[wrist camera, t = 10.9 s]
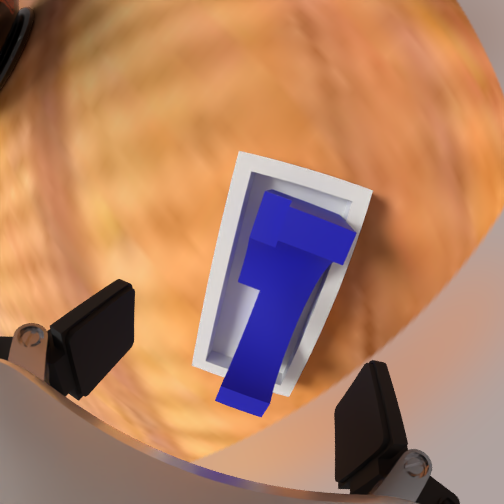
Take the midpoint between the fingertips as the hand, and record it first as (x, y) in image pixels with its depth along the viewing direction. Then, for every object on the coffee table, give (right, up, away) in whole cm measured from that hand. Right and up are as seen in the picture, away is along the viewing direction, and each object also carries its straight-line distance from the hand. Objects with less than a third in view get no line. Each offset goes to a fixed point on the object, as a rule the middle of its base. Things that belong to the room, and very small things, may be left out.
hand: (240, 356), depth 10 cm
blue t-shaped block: (+2, +2, +9) cm, 9 cm away
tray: (+2, +2, +9) cm, 10 cm away
